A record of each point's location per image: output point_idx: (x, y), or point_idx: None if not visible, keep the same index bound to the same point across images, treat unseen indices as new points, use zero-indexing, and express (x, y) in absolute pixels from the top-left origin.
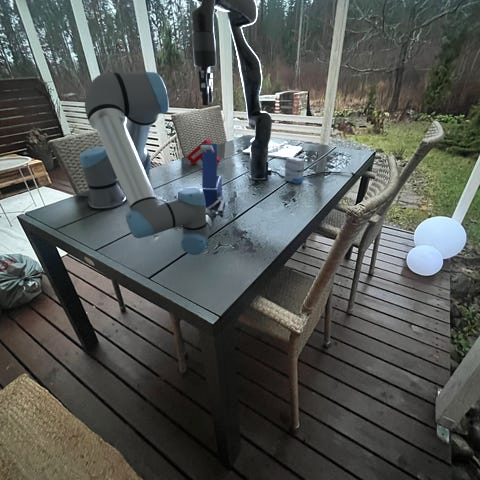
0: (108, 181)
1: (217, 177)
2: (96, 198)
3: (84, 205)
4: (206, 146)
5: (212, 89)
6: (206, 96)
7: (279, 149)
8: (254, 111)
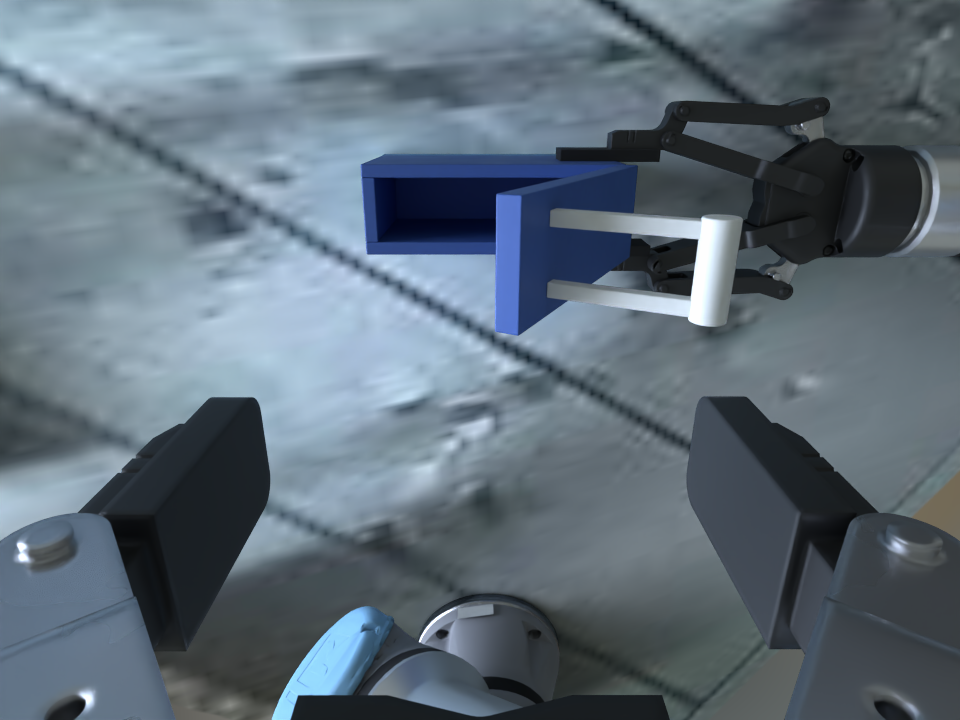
0: None
1: (376, 190)
2: (553, 691)
3: None
4: (734, 270)
5: (74, 530)
6: (861, 508)
7: None
8: None
